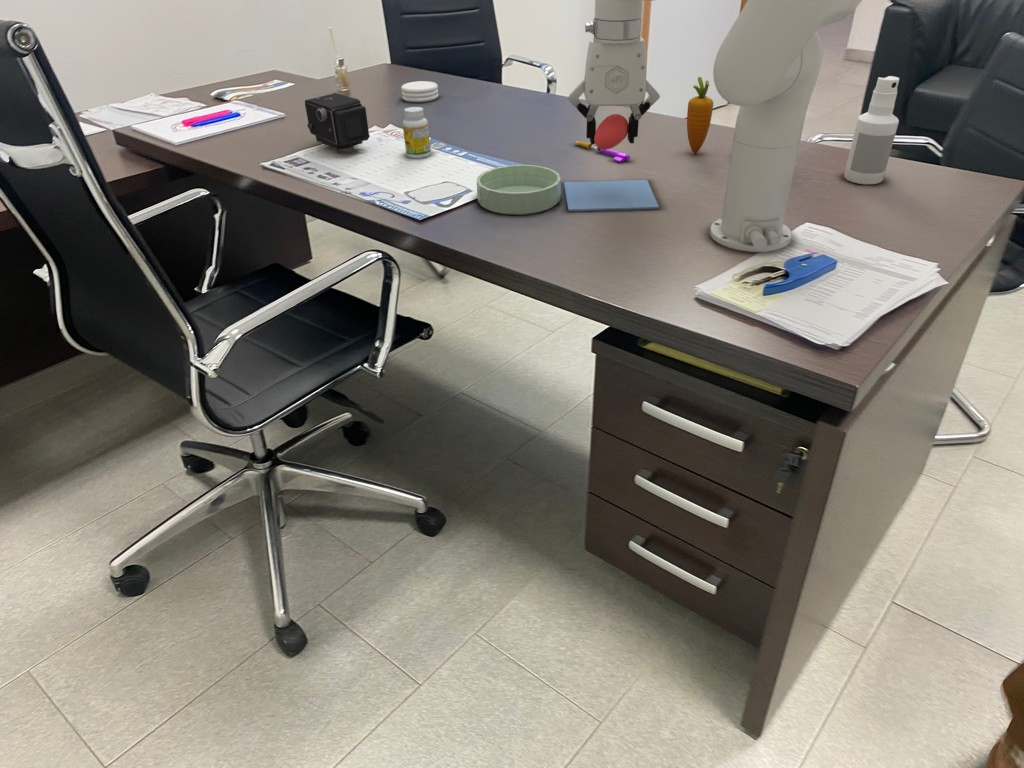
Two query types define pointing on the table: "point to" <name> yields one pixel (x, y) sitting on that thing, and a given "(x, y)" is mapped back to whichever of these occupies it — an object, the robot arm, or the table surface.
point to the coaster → (419, 91)
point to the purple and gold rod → (607, 152)
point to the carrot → (699, 116)
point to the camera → (337, 121)
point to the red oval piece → (611, 131)
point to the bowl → (518, 189)
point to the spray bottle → (874, 135)
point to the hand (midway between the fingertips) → (611, 140)
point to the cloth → (609, 195)
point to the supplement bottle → (416, 133)
